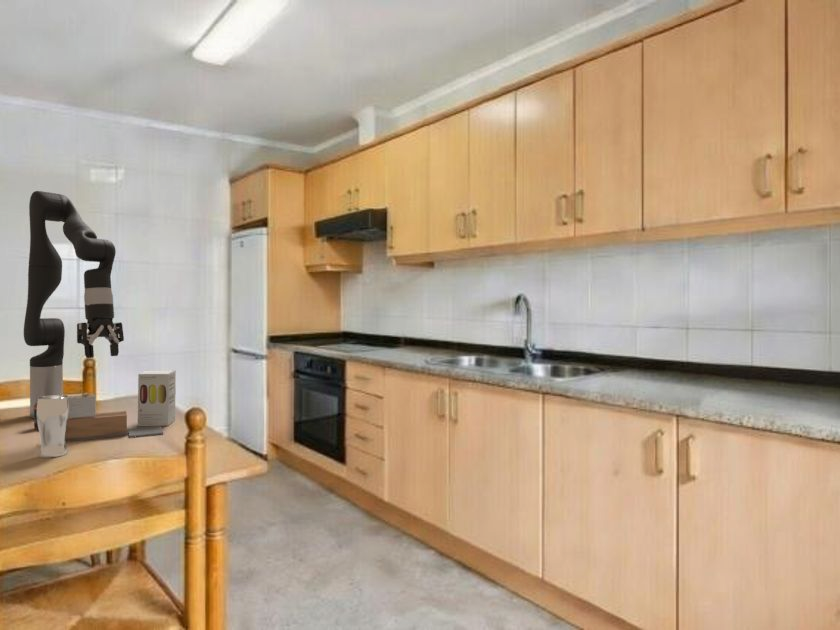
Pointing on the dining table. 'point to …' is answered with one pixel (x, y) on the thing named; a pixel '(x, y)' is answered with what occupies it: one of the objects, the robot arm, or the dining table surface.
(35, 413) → the supplement bottle
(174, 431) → the dining table surface
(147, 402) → the supplement box
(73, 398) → the drawer with brass knob
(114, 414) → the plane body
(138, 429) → the mat
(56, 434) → the beer glass
